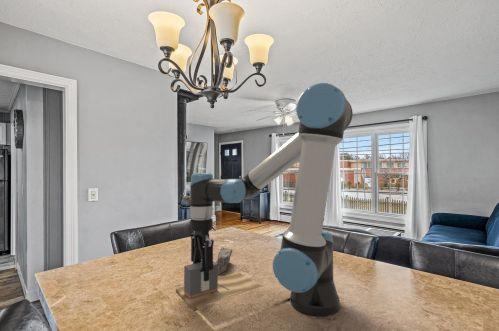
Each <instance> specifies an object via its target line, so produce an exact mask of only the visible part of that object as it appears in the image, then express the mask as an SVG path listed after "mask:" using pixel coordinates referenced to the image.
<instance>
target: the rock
mask: <svg viewBox="0 0 499 331" xmlns="http://www.w3.org/2000/svg"><path fill="white" fill-rule="evenodd" d="M232 254H233V249H231V248H224V247H221V248H220V250H219V252H218V254H217V258H216V260H215V263H217V264H218V275H220V274H222V273H224V272H227V269H228V266H229V265H230V260H231V256H232Z"/></svg>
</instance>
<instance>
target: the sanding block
mask: <svg viewBox="0 0 499 331" xmlns="http://www.w3.org/2000/svg"><path fill="white" fill-rule="evenodd" d="M183 269H184V270H183V272H184V274H183V275H184V277H183V286H184V293H185V294H186V295H187V296H188V297H189V298H190V299H191V298H194V297H197V296H201V295H204V294H208V293H211V292H214V291H218V277H219V276H218V275H219V274H218V264H217V263H216V261H213V270H210V271H209V290H205V291H201V272H200V270H202V262H200V263H195V264H193V263H191V264H186V265H184V266H183Z"/></svg>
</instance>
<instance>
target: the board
mask: <svg viewBox="0 0 499 331" xmlns="http://www.w3.org/2000/svg"><path fill="white" fill-rule="evenodd" d="M260 287H263V285H261V284H259V283H258V282H256V281H255V280H253V279H251V278H249V277H248V276H246V275H245V274H242V273H241V272H239V271H237V272H233V273H229V274H226V275H223V276H218V291H214V292H211V293H208V294H204V295H201V296H197V297H194V298H191V299H190V298H189V297H188V296H187V295H186V294H185V293H184V285H182V286H179V287H176V288H175V292H176V293H177V294H178V295H179V296H180V298H182V299H183V301H184V302H185V303H186V304H187V305H188V306H189V307H190V308H191V310H193V311H198V308H197V307H201V306H203V305H206V304H210V303H213V302H216V301H220V300H223V299H225V298H228V297H231V296H235V295H238V294H242V293H244V292H247V291H250V290H254V289H257V288H260Z"/></svg>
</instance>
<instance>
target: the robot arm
mask: <svg viewBox="0 0 499 331" xmlns="http://www.w3.org/2000/svg"><path fill="white" fill-rule="evenodd" d="M295 108H296V109H295V110H296V116H297V119H298V121H299V127H298V132H297V133H295V134H294V135H293V136H292V137H290V138H289V139H288V140H287V141H285V143H283V144H282V145H281V146H279V147H278V148H277V149H275V151H274V152H272V153H271V154H270V155H269V156H267V157H266V158H265V159H264V160H262V162H260V163H259V164H258V165H257V166H255V167H254V168H252V170H250V171H249V172H248V173H246V174H245V175H244V176H243V177H242V178H221V179H219V178H217V179H215V178H214V177H213V174H212V173H207V172H205V173H203V172H200V173H199V172H198V173H196V172H195V173H192V174H191V176H190V184H189V188H190V190H189V191H190V207H189V214H190V215H189V217H190V218H191V219H190V221H189V222H190V224H189V225H190V226H189V227H190V230H191V232H192V233H190V262H192V264H195V263H200V262H202V270H200V272H201V291H205V290H209V271H210V270H213V262H214V242H215V241H214V239H211V238H210V233H209V232H210V231H211V230H212V229H213V225H214V224H213V223H214V222H213V221H214V220H213V218H212V217H213V210H214V207H213V204H214V202H215V203H216V202H217V203H219V202H220V203H228V204H239V203H241V202H243V200H251V199H253V198H256V197H258V195H260V191H261V190H262V189H264V188H265V187H267V186H268V185H269V184H270V183H273V181H275V180H276V179H277V178H278V177H279V176H281V175H282V174H283V173H284V172H286V171H287V170H288V169H290V168H291V167H292V166H294V165H296V163H299V164H298V169H297V170H298V171H297V175H296V176H297V177H296V181H295V182H296V184H295V188H294V189H295V190H294V196H293V203H292V208H291V209H292V210H291V217H290V222H289V228H288V229H286V230H285V231H283V233H282V239H281V244H280V250H278V251H277V252H276V254H275V255H274V258H273V260H272V271H273V274H274V277H275V278H276V279H277V281H278V283H279V284H280V285H281V286H282V287H283V288H285V289H287V290H288V291H290V297H289V298H290V305H291V306H292V307H293V308H294V309H295V310H297V311H298V312H300V313H303V314H306V315H311V316H317V317H324V316H325V317H326V316H331V315H334V314H336V313H337V312H338V311H339V310H340V308H341V306H340V297H339V295H338V291H337V289H336V285H335V282H334V239H333V234H332V233H331V232H329V231H327V230H326V231H325V230H323V227H324V219H325V214H326V209H327V208H326V207H327V202H328V201H327V200H328V194H329V188H330V182H331V176H332V170H333V163H334V157H335V151H336V147H337V145H339V144H340V143H341V142H343V140H344V133H345V131H346V130H347V129H348V127H349V126H350V125H351V122H352V120H353V115H354V114H353V108H352V105H351V103H350V102H349V101H348V99H347V97H346V96H345V94H344V91H342V90H341V88H338V87H337V86H335V85H334V84H332V83H327V82H319V83H315V84H313V85H310V86H309V87H307V88H306V89H305V90H303V91H302V93H301V94H300V96H299V97H298V99H297V102H296V107H295Z"/></svg>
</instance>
